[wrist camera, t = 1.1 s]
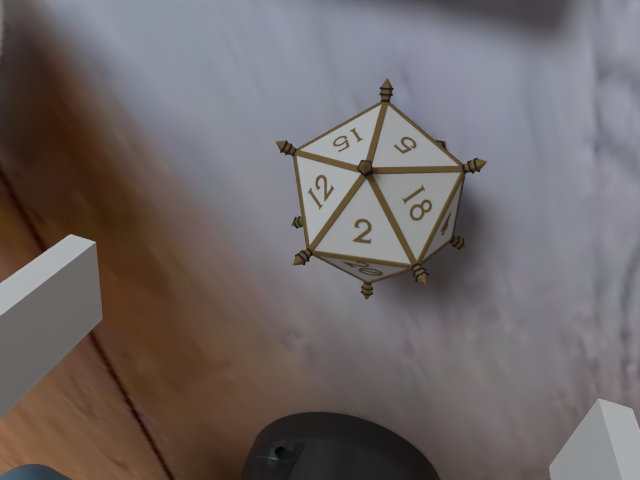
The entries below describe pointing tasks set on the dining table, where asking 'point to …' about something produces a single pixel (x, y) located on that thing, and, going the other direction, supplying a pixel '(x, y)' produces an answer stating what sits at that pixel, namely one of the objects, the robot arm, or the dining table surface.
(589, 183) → the dining table surface
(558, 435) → the dining table surface
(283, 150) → the game die
